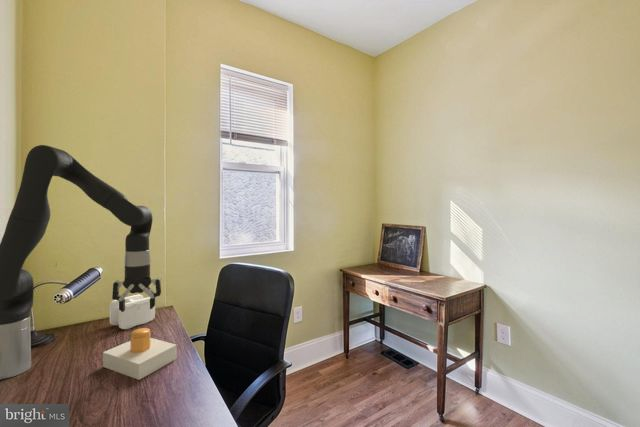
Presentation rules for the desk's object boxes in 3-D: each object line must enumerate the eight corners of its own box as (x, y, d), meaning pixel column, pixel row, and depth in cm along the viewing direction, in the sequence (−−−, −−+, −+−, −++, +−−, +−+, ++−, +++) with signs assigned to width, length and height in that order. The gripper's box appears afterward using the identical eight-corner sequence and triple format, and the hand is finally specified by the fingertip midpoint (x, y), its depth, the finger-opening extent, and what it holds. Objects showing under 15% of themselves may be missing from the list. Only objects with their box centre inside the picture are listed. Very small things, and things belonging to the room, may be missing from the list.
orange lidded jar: (138, 354, 99) (138, 336, 98) (127, 350, 101) (127, 333, 101) (153, 346, 104) (153, 329, 104) (143, 343, 106) (143, 327, 106)
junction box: (139, 379, 93) (138, 364, 92) (103, 366, 100) (103, 352, 100) (176, 358, 105) (176, 344, 105) (142, 348, 113) (142, 335, 112)
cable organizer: (144, 316, 145) (143, 292, 145) (155, 320, 139) (155, 296, 139) (109, 326, 132) (108, 301, 132) (120, 332, 127) (120, 305, 126)
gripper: (109, 266, 96) (109, 316, 97) (159, 264, 101) (159, 311, 102) (116, 262, 103) (116, 308, 104) (162, 260, 108) (162, 304, 109)
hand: (137, 309), depth 103 cm, fingers open, 8 cm apart
